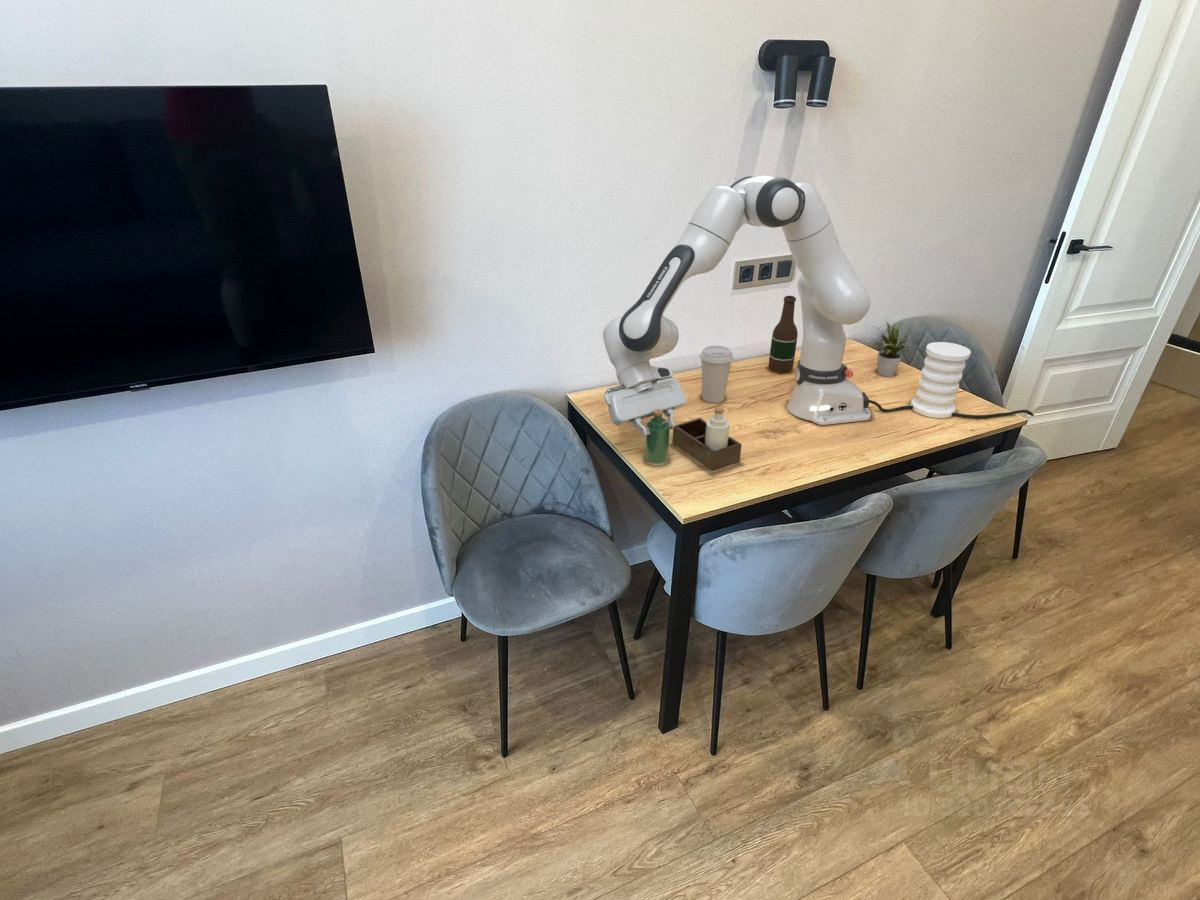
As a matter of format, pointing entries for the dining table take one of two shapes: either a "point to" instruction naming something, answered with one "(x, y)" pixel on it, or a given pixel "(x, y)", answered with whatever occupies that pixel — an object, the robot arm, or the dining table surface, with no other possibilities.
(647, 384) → the robot arm
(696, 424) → the caddy
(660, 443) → the green bottle
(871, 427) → the dining table surface
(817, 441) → the dining table surface
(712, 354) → the coffee cup
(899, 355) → the house plant
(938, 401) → the decorative container
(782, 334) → the beer bottle
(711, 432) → the cream bottle
